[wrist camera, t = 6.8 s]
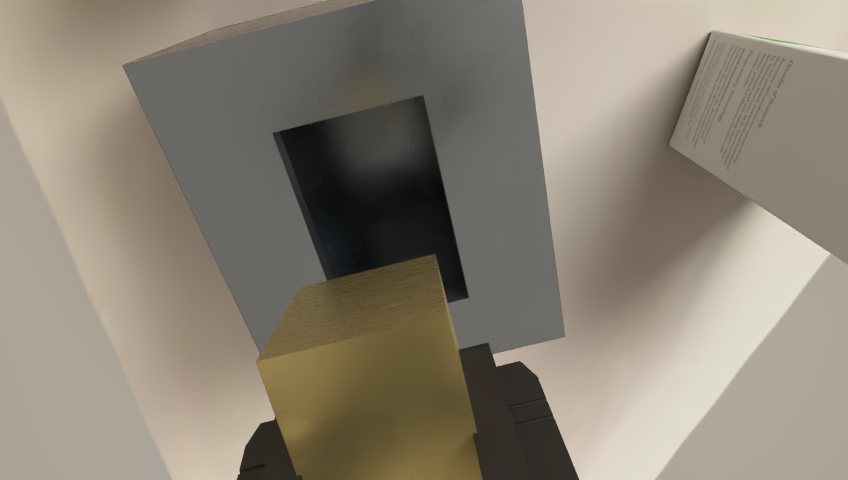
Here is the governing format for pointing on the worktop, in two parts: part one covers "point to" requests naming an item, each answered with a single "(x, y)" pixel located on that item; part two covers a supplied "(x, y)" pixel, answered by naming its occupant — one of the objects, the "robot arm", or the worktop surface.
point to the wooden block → (372, 379)
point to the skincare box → (774, 130)
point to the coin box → (365, 156)
